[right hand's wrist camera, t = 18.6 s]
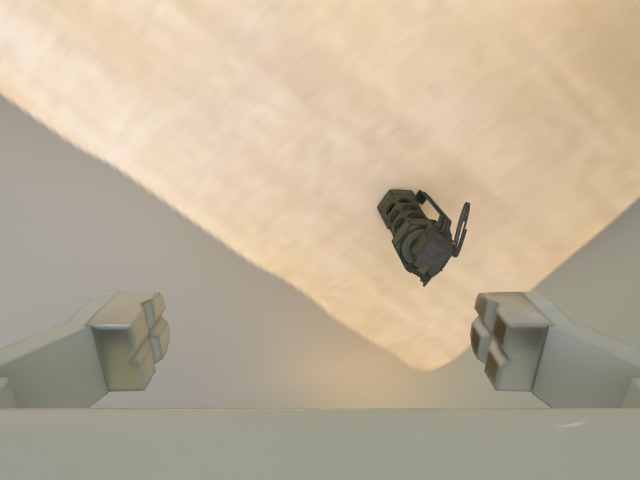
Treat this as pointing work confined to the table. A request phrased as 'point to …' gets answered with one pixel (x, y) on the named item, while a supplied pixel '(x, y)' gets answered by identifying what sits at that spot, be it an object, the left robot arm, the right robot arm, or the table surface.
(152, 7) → the table surface
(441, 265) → the grenade
